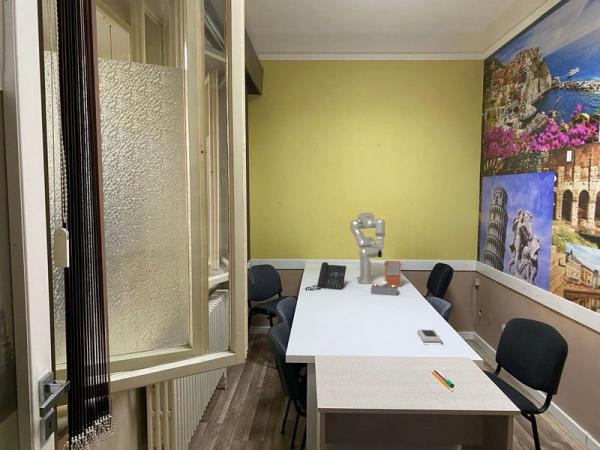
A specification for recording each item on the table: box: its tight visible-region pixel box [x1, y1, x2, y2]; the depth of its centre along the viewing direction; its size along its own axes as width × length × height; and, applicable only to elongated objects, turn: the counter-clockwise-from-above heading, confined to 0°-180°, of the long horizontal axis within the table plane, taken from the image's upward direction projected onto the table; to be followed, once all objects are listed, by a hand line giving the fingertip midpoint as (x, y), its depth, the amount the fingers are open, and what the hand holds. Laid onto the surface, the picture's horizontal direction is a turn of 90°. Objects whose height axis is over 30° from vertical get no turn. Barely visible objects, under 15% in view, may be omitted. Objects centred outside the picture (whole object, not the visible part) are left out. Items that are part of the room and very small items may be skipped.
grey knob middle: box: [381, 280, 387, 288], centre depth 314 cm, size 4×4×6 cm
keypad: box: [416, 329, 443, 344], centre depth 217 cm, size 10×4×15 cm
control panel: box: [383, 260, 403, 288], centre depth 337 cm, size 21×7×15 cm
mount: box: [370, 284, 399, 296], centre depth 315 cm, size 20×10×5 cm, turn 74°
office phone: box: [304, 261, 347, 291], centre depth 333 cm, size 29×28×20 cm
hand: (379, 257), depth 325 cm, fingers closed
